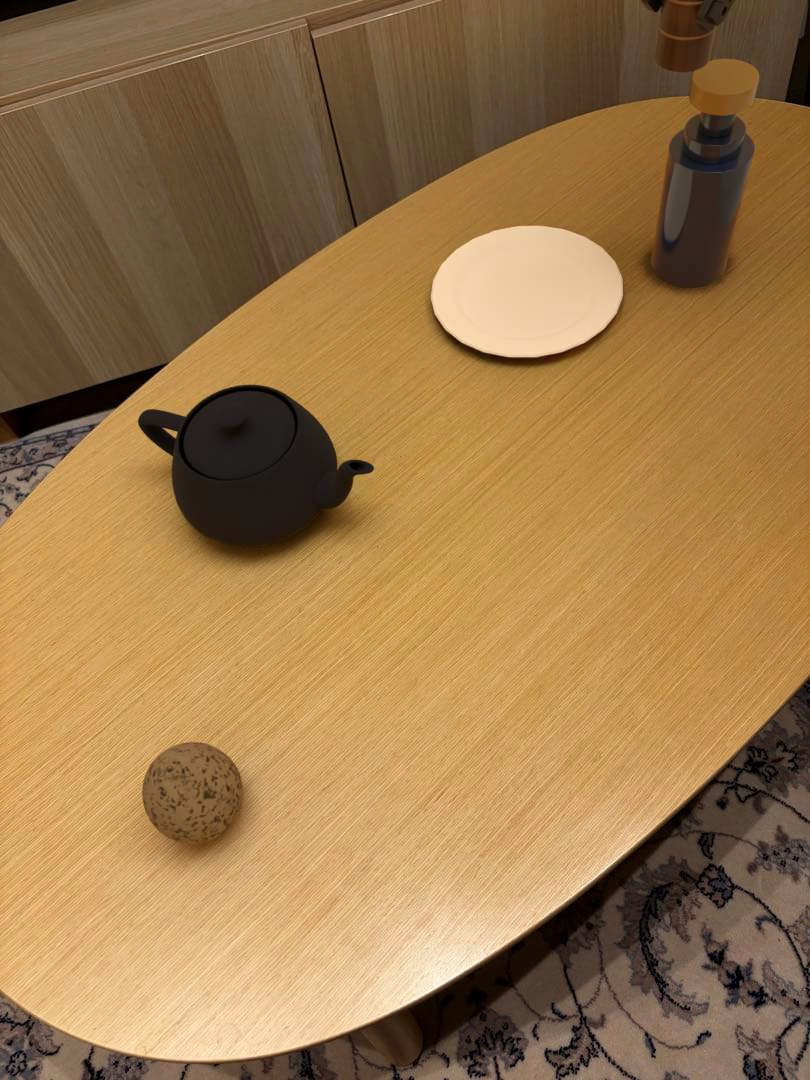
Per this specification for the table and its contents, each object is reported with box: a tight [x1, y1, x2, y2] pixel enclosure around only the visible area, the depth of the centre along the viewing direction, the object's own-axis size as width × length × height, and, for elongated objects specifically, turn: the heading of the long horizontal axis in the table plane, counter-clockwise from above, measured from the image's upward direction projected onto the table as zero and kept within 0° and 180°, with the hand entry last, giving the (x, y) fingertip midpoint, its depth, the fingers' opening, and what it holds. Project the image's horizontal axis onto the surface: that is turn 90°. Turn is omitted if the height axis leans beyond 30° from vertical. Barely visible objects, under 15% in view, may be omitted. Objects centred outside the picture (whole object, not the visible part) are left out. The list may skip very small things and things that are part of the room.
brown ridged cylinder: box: [654, 0, 718, 73], centre depth 68 cm, size 4×4×8 cm
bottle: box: [650, 58, 760, 289], centre depth 87 cm, size 8×8×21 cm
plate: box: [430, 225, 624, 359], centre depth 95 cm, size 21×21×2 cm
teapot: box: [137, 384, 375, 548], centre depth 80 cm, size 25×16×12 cm, turn 67°
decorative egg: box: [141, 741, 244, 845], centre depth 64 cm, size 7×7×10 cm
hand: (675, 15), depth 68 cm, fingers closed on brown ridged cylinder, 4 cm apart
